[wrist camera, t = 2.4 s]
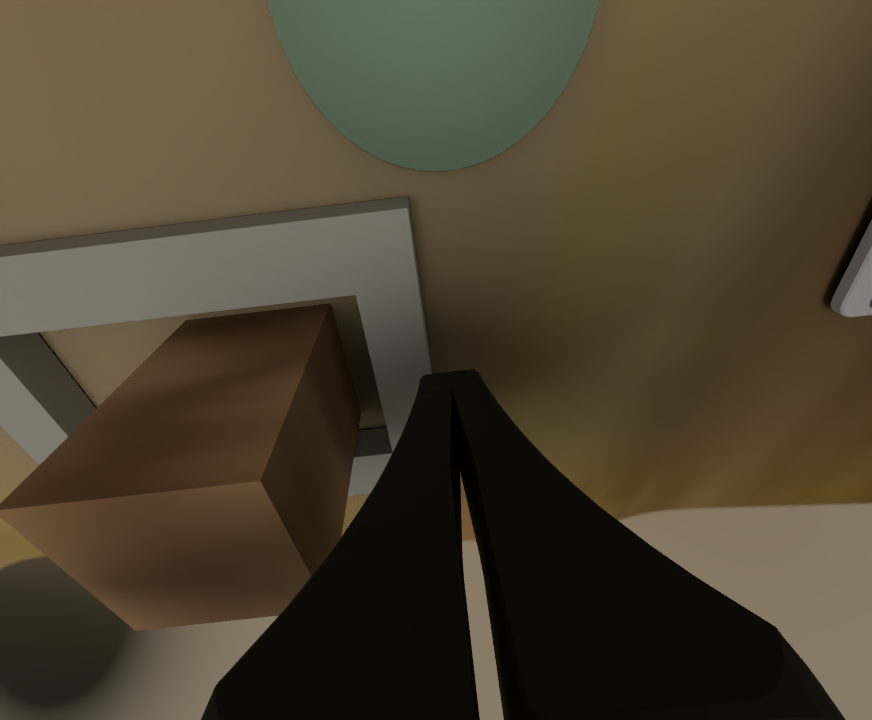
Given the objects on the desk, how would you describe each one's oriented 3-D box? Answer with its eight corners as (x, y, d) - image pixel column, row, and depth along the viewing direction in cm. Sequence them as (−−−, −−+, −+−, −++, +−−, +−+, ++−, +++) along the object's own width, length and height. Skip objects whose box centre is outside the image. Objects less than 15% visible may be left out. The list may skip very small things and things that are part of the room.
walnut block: (330, 303, 11) (260, 481, 6) (360, 413, 13) (329, 609, 8) (185, 320, 11) (-7, 510, 6) (241, 426, 13) (135, 630, 8)
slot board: (408, 196, 9) (407, 208, 8) (443, 458, 14) (445, 485, 13) (-88, 256, 9) (-147, 275, 8) (118, 494, 14) (96, 523, 13)
